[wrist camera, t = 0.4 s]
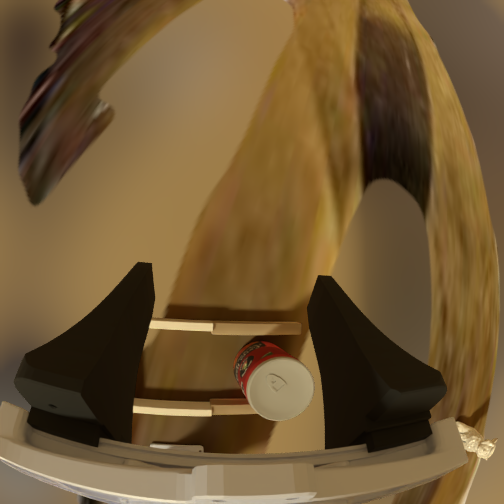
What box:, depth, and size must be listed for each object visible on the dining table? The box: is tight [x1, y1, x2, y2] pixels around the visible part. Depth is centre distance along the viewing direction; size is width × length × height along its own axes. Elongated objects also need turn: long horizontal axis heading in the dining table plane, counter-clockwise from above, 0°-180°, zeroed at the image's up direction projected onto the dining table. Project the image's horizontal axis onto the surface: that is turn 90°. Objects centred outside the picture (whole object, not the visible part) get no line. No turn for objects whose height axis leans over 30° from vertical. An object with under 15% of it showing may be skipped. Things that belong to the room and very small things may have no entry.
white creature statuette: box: [456, 422, 498, 460], centre depth 43 cm, size 10×9×12 cm
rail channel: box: [210, 321, 302, 415], centre depth 40 cm, size 13×12×2 cm
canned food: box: [233, 341, 315, 421], centre depth 36 cm, size 8×8×11 cm
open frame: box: [133, 318, 213, 416], centre depth 38 cm, size 13×12×3 cm
